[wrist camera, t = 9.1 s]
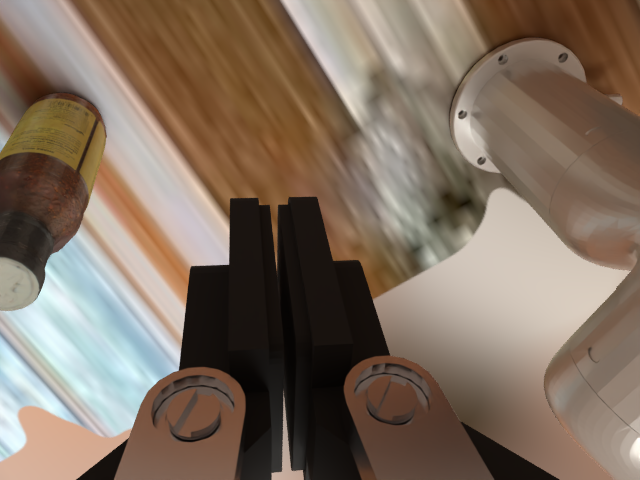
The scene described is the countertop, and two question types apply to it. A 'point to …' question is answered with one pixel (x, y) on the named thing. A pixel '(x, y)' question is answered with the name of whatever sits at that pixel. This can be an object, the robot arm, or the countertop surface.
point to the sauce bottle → (44, 189)
